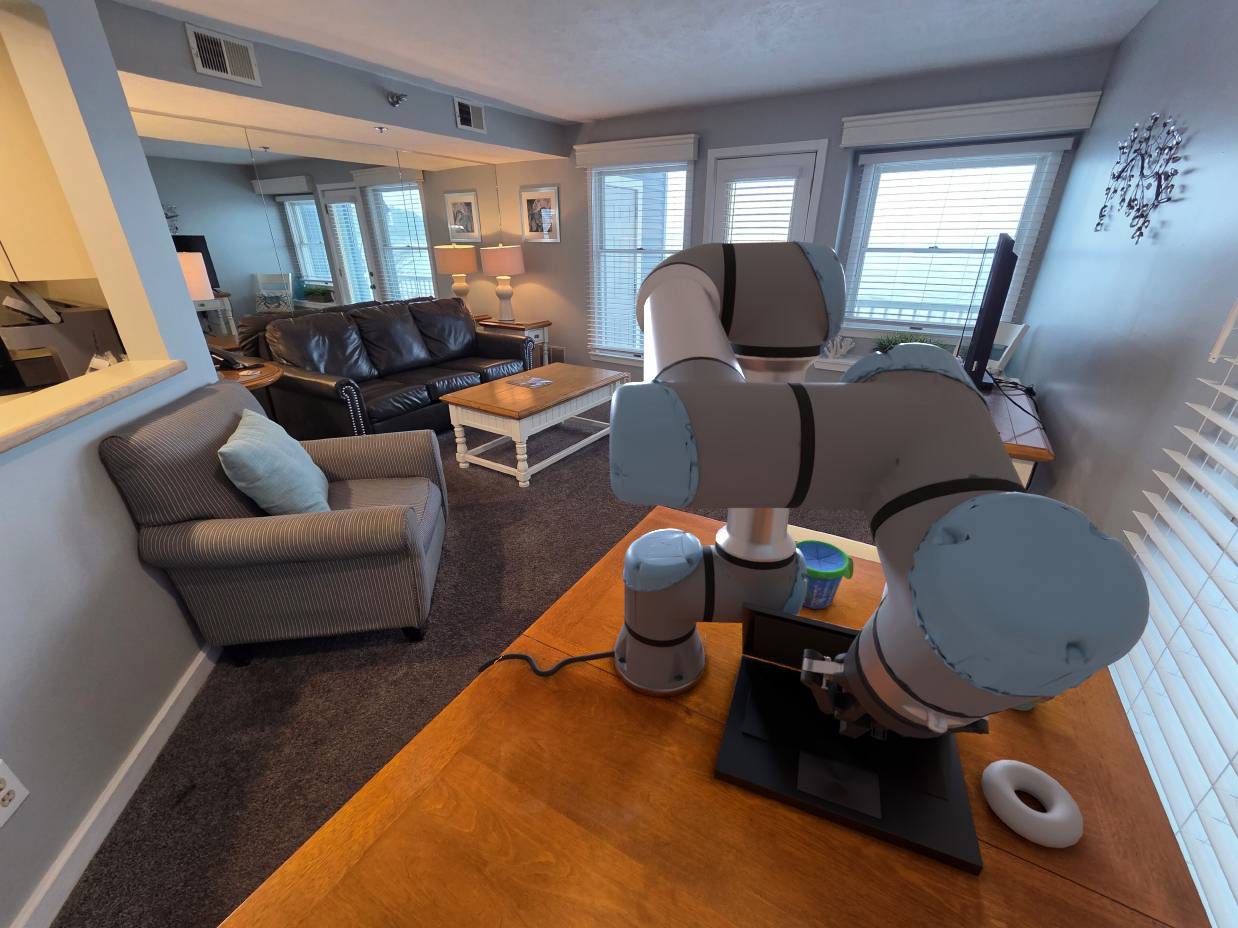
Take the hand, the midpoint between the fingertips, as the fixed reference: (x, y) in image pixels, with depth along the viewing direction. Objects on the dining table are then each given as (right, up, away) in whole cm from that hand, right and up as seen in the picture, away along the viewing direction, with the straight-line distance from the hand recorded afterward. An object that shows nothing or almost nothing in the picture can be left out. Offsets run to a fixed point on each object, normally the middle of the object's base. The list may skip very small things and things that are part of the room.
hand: (848, 721), depth 51 cm
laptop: (+7, -14, +19) cm, 25 cm away
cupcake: (+38, -10, +27) cm, 47 cm away
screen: (+9, -2, +19) cm, 21 cm away
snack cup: (+15, 0, +48) cm, 50 cm away
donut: (+28, -17, +12) cm, 35 cm away
